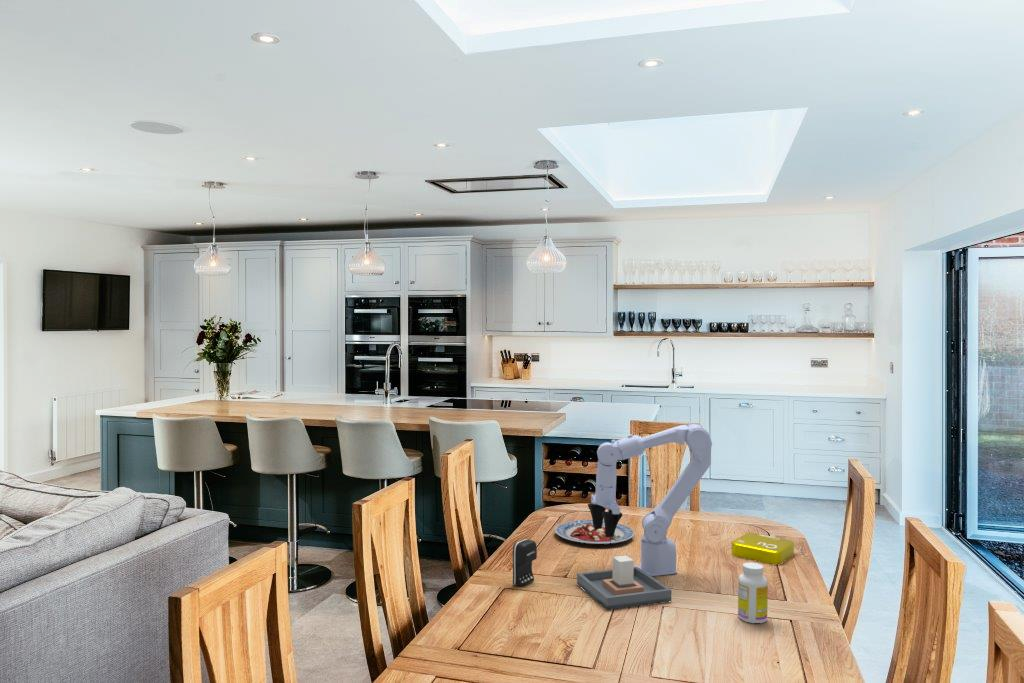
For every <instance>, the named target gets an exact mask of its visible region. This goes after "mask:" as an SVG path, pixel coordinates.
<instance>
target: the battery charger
mask: <svg viewBox="0 0 1024 683" xmlns="http://www.w3.org/2000/svg"><path fill="white" fill-rule="evenodd" d="M537 556H538V551H537V543H536V541H534V540H532V539H528V538H523V539H521V540H519V541H517V542H515V543H514V544H513V546H512V585H514V586H517V585H518V587H525V586H527V585H529V584H531V583H533V582H534V581H535V577H534V573H533V567H532V566H533V561H536V560H537V559H538V558H537ZM532 581H533V582H532ZM530 582H531V583H530ZM528 583H529V584H528ZM526 584H527V585H526ZM524 585H525V586H524Z"/></svg>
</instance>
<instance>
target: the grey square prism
mask: <svg viewBox="0 0 1024 683" xmlns="http://www.w3.org/2000/svg"><path fill="white" fill-rule="evenodd" d="M634 565H635V562H634V559H633V558H632V557H629V556H628V555H617V556H613V557H612V569H613V576H612V584H613V585H615V586H616V587H617V588H625V587H633V575H634V567H635V566H634Z"/></svg>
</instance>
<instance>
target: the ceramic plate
mask: <svg viewBox="0 0 1024 683" xmlns="http://www.w3.org/2000/svg"><path fill="white" fill-rule="evenodd" d="M554 531H555V534H556V535H557V536H559V537H561V538H562V539H565V540H568V541H571V542H576V543H579V542H580V543H581V544H584V543H585V544H586V545H592V544H604V545H610V543H611V544H616V543H617V544H618V543H622V542H625V541H628V540H630V539H632V538H633V537H634V536H635V531H634V530H633V529H632V528H631V527H629V526H627V525H625V524H621V523H619V522H618V524H617V527H616V530H615V533H614V536H613V537H606V535H605V523H604V520H603V524H602V528H601V529H594V526H593V520H592V519H581V520H580V519H578V520H571V521H566V522H563V523H560V524H558V525H557V526H555V528H554Z"/></svg>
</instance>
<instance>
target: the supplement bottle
mask: <svg viewBox="0 0 1024 683" xmlns="http://www.w3.org/2000/svg"><path fill="white" fill-rule="evenodd" d="M742 571H743V573H741V574H740V575H739V576H738V580H737V584H738V587H737V588H738V591H737V601H738V602H737V614H738V617H739V619H740V620H741V621H743V622H745V623H748V622H749V624H754V623H760V624H763V623H765V622H767V620H768V599H769V598H768V594H769V593H768V590H769V588H768V586H769V585H768V584H769V583H768V579H767V578H766V576H764V574H763V573H764V571H765V570H764V565H763V564H760V563H757V562H745V563H743V564H742Z"/></svg>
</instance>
